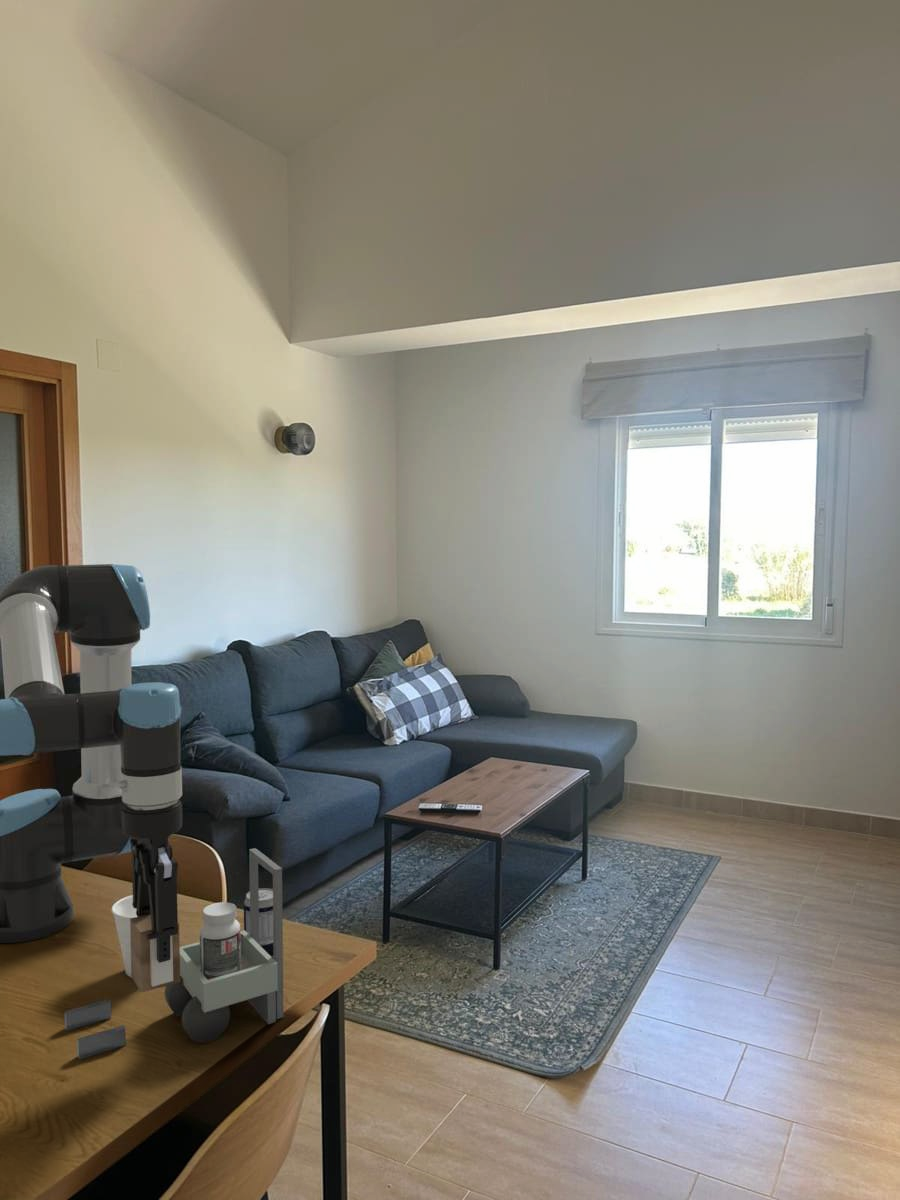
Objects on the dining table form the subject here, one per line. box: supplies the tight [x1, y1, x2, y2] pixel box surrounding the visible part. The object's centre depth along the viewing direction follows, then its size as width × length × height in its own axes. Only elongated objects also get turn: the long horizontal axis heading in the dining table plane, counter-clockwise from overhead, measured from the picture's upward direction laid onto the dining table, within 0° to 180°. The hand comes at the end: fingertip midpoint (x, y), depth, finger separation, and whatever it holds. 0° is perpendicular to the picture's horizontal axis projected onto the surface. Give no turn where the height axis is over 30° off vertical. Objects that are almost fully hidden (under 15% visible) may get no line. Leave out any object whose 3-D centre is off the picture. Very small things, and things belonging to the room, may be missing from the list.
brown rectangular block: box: [130, 914, 181, 993], centre depth 116 cm, size 5×5×8 cm
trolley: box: [164, 847, 285, 1044], centre depth 126 cm, size 13×14×22 cm
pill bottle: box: [199, 901, 241, 980], centre depth 126 cm, size 6×6×10 cm
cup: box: [111, 894, 137, 979], centre depth 140 cm, size 10×10×11 cm
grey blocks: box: [64, 998, 127, 1061], centre depth 121 cm, size 9×6×2 cm, turn 34°
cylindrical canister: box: [243, 887, 274, 959], centre depth 141 cm, size 6×6×12 cm
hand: (155, 973), depth 117 cm, fingers closed on brown rectangular block, 5 cm apart
